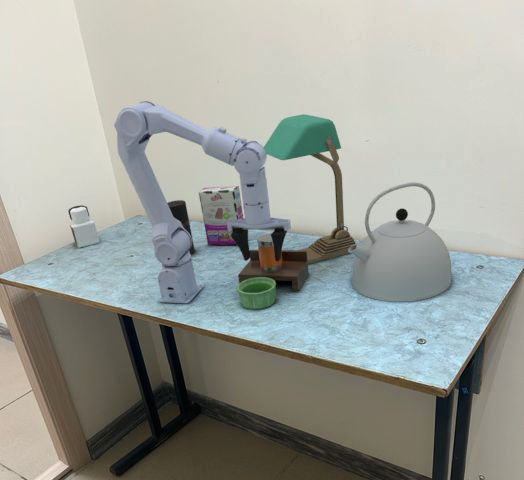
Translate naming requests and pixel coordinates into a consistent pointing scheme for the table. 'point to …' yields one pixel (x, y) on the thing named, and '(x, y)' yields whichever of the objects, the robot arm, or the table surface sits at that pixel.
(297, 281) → the shelf
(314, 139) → the banker's lamp
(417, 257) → the kettle
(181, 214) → the deodorant
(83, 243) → the white handled box
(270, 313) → the table surface
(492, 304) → the table surface
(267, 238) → the tin can
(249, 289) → the ramekin
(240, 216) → the candy bar box
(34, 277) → the table surface
